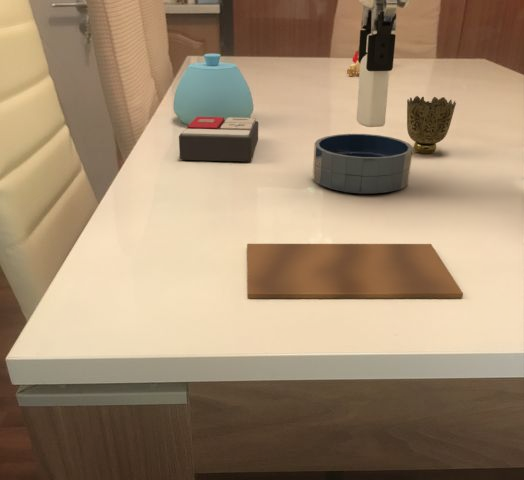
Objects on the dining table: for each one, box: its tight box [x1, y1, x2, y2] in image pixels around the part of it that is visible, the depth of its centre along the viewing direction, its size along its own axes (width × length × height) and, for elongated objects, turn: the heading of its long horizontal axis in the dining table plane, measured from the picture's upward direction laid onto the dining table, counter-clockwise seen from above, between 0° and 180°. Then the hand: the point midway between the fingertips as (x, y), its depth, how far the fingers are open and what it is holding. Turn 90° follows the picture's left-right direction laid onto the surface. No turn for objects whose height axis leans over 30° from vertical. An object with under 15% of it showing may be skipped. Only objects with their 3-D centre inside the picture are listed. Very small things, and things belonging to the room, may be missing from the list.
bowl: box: [312, 133, 414, 195], centre depth 89 cm, size 13×13×5 cm
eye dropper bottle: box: [356, 34, 390, 128], centre depth 83 cm, size 4×6×12 cm
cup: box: [406, 95, 457, 155], centre depth 102 cm, size 8×7×8 cm
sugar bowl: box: [173, 53, 254, 126], centre depth 119 cm, size 15×15×12 cm
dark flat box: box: [178, 117, 259, 163], centre depth 103 cm, size 11×4×15 cm
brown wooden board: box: [246, 243, 464, 299], centre depth 64 cm, size 20×12×1 cm, turn 91°
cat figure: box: [346, 47, 360, 77], centre depth 175 cm, size 10×9×25 cm
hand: (374, 65), depth 82 cm, fingers closed on eye dropper bottle, 5 cm apart
